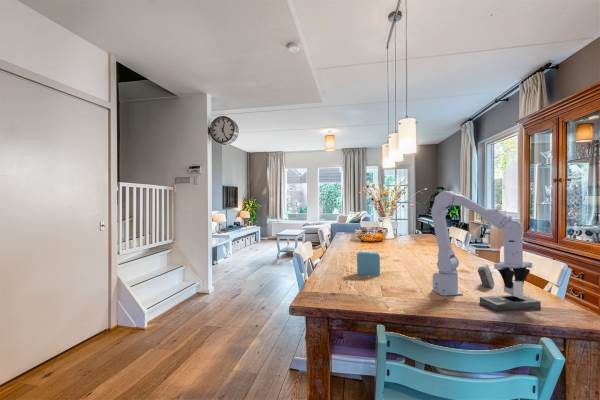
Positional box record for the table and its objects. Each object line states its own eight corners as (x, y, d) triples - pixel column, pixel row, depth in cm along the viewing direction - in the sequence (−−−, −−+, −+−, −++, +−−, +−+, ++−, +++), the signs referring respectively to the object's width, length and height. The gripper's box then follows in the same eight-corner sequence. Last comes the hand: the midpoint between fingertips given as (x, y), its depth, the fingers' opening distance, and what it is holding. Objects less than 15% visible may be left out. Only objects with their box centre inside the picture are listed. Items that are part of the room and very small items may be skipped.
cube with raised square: (513, 295, 103) (513, 281, 103) (504, 291, 107) (504, 278, 107) (522, 294, 104) (522, 281, 104) (513, 291, 108) (513, 278, 108)
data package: (379, 274, 153) (379, 252, 153) (380, 276, 148) (379, 253, 148) (357, 273, 155) (357, 251, 155) (357, 275, 151) (356, 253, 151)
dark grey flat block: (497, 311, 100) (496, 304, 100) (479, 303, 108) (479, 296, 108) (540, 308, 102) (540, 301, 102) (520, 300, 110) (520, 294, 110)
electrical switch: (493, 288, 125) (490, 268, 126) (479, 287, 128) (476, 267, 129) (494, 283, 133) (492, 264, 133) (481, 283, 136) (479, 263, 136)
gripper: (505, 254, 100) (506, 292, 100) (540, 252, 102) (540, 289, 102) (489, 250, 107) (490, 286, 107) (522, 249, 109) (523, 283, 109)
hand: (513, 287), depth 105 cm, fingers closed on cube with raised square, 4 cm apart
